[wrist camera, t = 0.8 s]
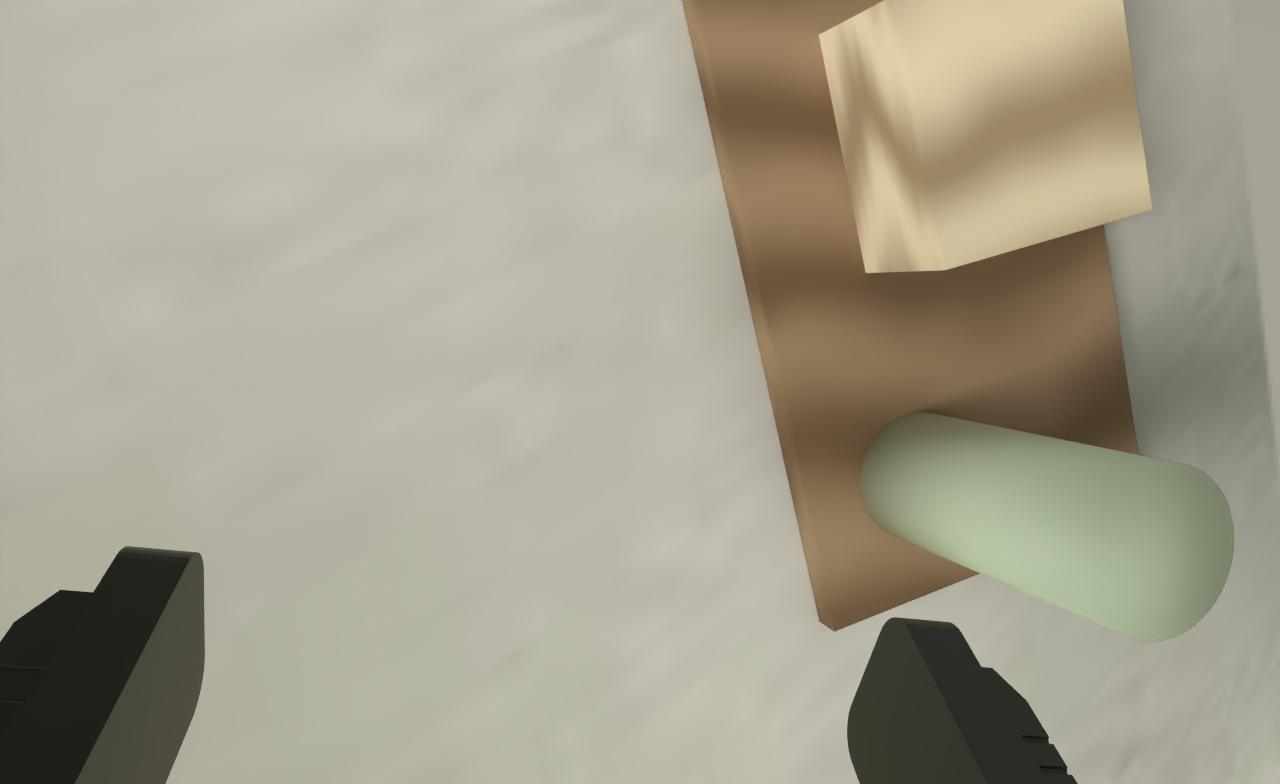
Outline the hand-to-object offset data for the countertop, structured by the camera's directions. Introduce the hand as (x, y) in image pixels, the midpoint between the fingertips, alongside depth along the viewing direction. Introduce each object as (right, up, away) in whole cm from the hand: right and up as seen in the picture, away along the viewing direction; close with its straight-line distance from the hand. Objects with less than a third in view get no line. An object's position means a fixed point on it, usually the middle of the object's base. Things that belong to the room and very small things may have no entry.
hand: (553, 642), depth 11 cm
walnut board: (+13, +8, +28) cm, 31 cm away
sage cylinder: (+12, 0, +27) cm, 30 cm away
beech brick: (+13, +13, +26) cm, 32 cm away
